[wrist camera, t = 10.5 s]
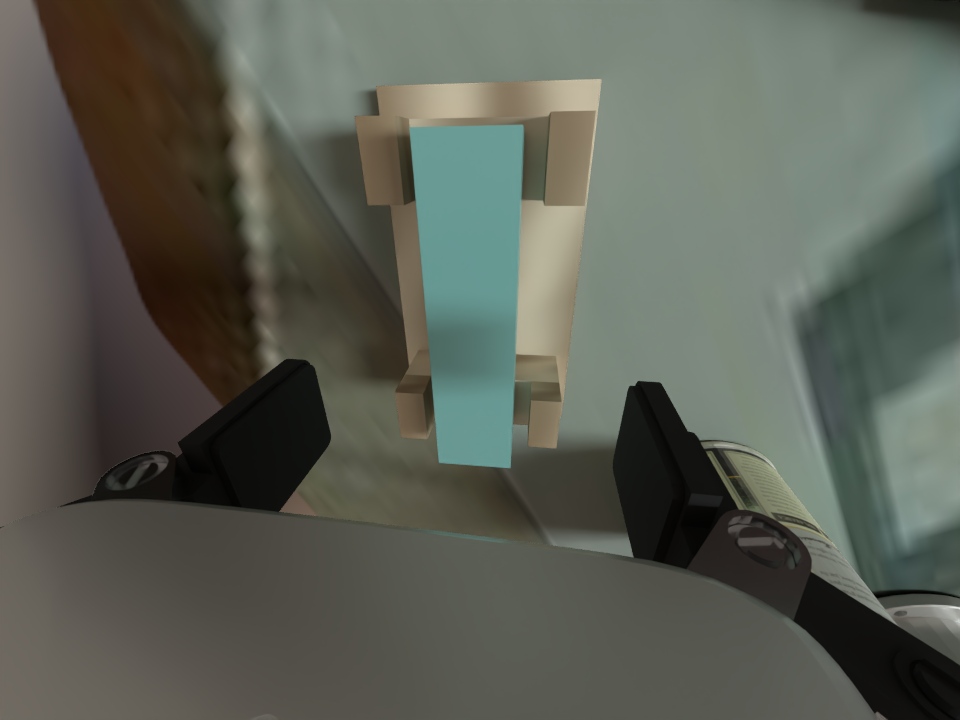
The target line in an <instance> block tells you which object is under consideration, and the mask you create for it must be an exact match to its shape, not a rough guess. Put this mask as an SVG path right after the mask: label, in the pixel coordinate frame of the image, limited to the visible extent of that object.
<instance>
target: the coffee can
mask: <svg viewBox="0 0 960 720" xmlns="http://www.w3.org/2000/svg"><path fill="white" fill-rule="evenodd" d="M701 444H702V446H703V448H704V449H705V451H706V453H707V454H708V456H709V458H710V460H711V461H712V463H713V465H714V467H715V468H716V470H717V472H718V474H719V475H720V477H721V479H722V481H723V482H724V484H725V486H726V488H727V489H728V491H729V493H730V495H731V496H732V498H733V500H734V501H735V503H736V505H737V507H738V508H739V510H750V511H754V512H758V513H761V514H763V515H766V516H768V517H770V518H773V519H775V520H776V521H778V522H779V523H781V524H783V525H784V526H786V527H787V528H788V529H790V530H791V531H792V532H793V533H794V534H795V535H797V536H798V537H799V538H800V540H801V541H802V542H803V543H804V545H805V546H806V547H807V549H808V551H809V554H810V556H811V558H812V569H811V572H813V573H814V574H816V575H817V576H819V577H821V578H822V579H824V580H825V581H827V582H829V583H830V584H832V585H833V586H835V587H837V588H838V589H840V590H841V591H843V592H845V593H846V594H848V595H849V596H851V597H853V598H854V599H856V600H857V601H859V602H861V603H862V604H864V605H865V606H867V607H868V608H870V609H872V610H873V611H875V612H876V613H878V614H880V615H881V616H883V617H884V618H886V619H888V620H889V621H891V622H892V623H894V624H896V623H895V621H894V620H893V619H892V618H891V616H890V615H889V614H888V613H887V611H886V610H885V609H884V607H883V606H882V605H881V604H880V602H879V601H878V600H877V599H876V597H875V596H874V595H873V593H872V592H871V591H870V590H869V588H868V587H867V586H866V585H865V583H864V582H863V581H862V579H861V578H860V577H859V576H858V574H857V573H856V572H855V571H854V569H853V568H852V567H851V565H850V564H849V563H848V562H847V560H846V559H845V558H844V557H843V555H842V554H841V553H840V552H839V550H838V549H837V548H836V546H835V545H834V544H833V543H832V541H831V540H830V539H829V538H828V536H827V535H826V534H825V533H824V531H823V530H822V529H821V527H820V526H819V525H818V524H817V522H816V521H815V520H814V518H813V517H812V516H811V515H810V513H809V512H808V511H807V510H806V508H805V507H804V506H803V504H802V503H801V502H800V501H799V499H798V498H797V497H796V496H795V494H794V493H793V492H792V490H791V489H790V488H789V487H788V485H787V484H786V483H785V481H784V480H783V479H782V478H781V476H780V475H779V473H778V472H777V470H776V468H775V467H774V465H773V464H772V463H771V461H770V460H768V459H767V458H766V457H765V456H764V455H762V454H761V453H759V452H757V451H755V450H753V449H752V448H750V447H747V446H743V445H739V444H735V443H729V442H722V441H708V442H701ZM896 625H897V624H896ZM897 626H898V625H897Z"/></svg>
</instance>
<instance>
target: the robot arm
mask: <svg viewBox="0 0 960 720" xmlns="http://www.w3.org/2000/svg"><path fill="white" fill-rule="evenodd" d="M330 440H331V433H330V429H329V425H328V421H327V416H326V412H325V408H324V404H323V400H322V396H321V392H320V388H319V384H318V379H317V375H316V371H315V368H314V367H313V366H312V365H310V363H309V362H308V361H306V360H298V359H286V360H284V361H283V362H282V363H280V364H279V365H278V366H276V367H275V368H274V369H272V370H271V371H270V372H269V373H267V374H266V375H265V376H263V377H262V378H261V379H260V380H258V381H257V382H256V383H254V384H253V385H252V386H250V387H249V388H248V389H247V390H245V391H244V392H243V393H241V394H240V395H239V396H237V397H236V398H235V399H234V400H232V401H231V402H230V403H228V404H227V405H226V406H225V407H223V408H222V409H221V410H219V411H218V412H217V413H216V414H214V415H213V416H212V417H210V418H209V419H208V420H206V421H205V422H204V423H203V424H201V425H200V426H199V427H197V428H196V429H195V430H194V431H192V432H191V433H190V434H188V435H187V436H186V437H184V438H183V439H182V440H181V441H179V442H178V444H179V446H180V448H181V450H182V452H183V453H182V454H181V455H180V456H178V457H177V458H176V456H175V455H174V454H173V453H172V452H170V451H163V450H160V451H151V452H147V453H142V454H139V455H137V456H134V457H131V458H129V459H127V460H125V461H123V462H121V463H119V464H117V465H116V466H114V467H113V468H111V469H110V470H108V471H107V472H106V473H105V474H104V475H103V476H102V477H101V478H100V480H99V481H98V483H97V484H96V487H95V490H94V492H93V495H91V496H88V497H85V498H82V499H79V500H77V501H74V502H71V503H68V504H65V505H63V506H60V507H57V508H53V509H49V510H45V511H42V512H39V513H36V514H32V515H29V516H26V517H23V518H21V519H18V520H16V521H14V522H12V523H9V524H8V525H6V526H3V527H0V720H960V598H955V597H951V596H946V595H936V594H903V595H892V596H887V597H881V598H876V599H877V600H878V601H879V602H880V604H881V605H882V606H883V607H884V609H885V610H886V611H887V613H888V614H889V615H890V616H891V618H892V619H893V620H894V621H895V623H896V624H897V625H898V626H897V625H896V624H894V623H892V622H891V621H889V620H888V619H886V618H884V617H883V616H881V615H880V614H878V613H876V612H875V611H873V610H872V609H870V608H868V607H867V606H865V605H864V604H862V603H861V602H859V601H857V600H856V599H854V598H853V597H851V596H849V595H848V594H846V593H845V592H843V591H841V590H840V589H838V588H837V587H835V586H833V585H832V584H830V583H829V582H827V581H825V580H824V579H822V578H821V577H819V576H817V575H816V574H814V573H813V572H811V569H812V558H811V556H810V554H809V551H808V549H807V547H806V546H805V545H804V543H803V542H802V541H801V540H800V538H799V537H798V536H797V535H795V534H794V533H793V532H792V531H791V530H790V529H788V528H787V527H786V526H784V525H783V524H781V523H779V522H778V521H776V520H775V519H773V518H770V517H768V516H766V515H763V514H761V513H758V512H754V511H750V510H739V508H738V507H737V505H736V503H735V501H734V500H733V498H732V496H731V495H730V493H729V491H728V489H727V488H726V486H725V484H724V482H723V481H722V479H721V477H720V475H719V474H718V472H717V470H716V468H715V467H714V465H713V463H712V461H711V460H710V458H709V456H708V454H707V453H706V451H705V449H704V448H703V446H702V444H701V442H700V441H699V439H698V437H697V436H696V435H695V434H694V433H692V432H688V431H687V429H686V428H685V426H684V424H683V422H682V420H681V418H680V417H679V415H678V413H677V411H676V409H675V408H674V406H673V404H672V402H671V400H670V398H669V397H668V395H667V393H666V391H665V389H664V387H663V386H662V384H661V383H659V382H644V381H638V382H637V383H636V386H629V388H628V392H627V397H626V402H625V407H624V411H623V416H622V421H621V426H620V431H619V435H618V440H617V445H616V450H615V454H614V460H613V472H614V476H615V481H616V485H617V489H618V493H619V498H620V502H621V506H622V510H623V514H624V519H625V523H626V527H627V531H628V535H629V540H630V544H631V548H632V552H633V556H634V558H633V557H627V556H621V555H616V554H610V553H603V552H596V551H589V550H582V549H575V548H567V547H560V546H553V545H546V544H538V543H530V542H522V541H515V540H507V539H499V538H491V537H483V536H475V535H467V534H459V533H451V532H443V531H435V530H427V529H419V528H410V527H402V526H394V525H386V524H377V523H369V522H361V521H352V520H344V519H336V518H327V517H319V516H310V515H301V514H292V513H284V512H279V511H280V510H281V508H282V507H283V506H284V504H285V503H286V502H287V500H288V499H289V498H290V496H291V495H292V494H293V492H294V491H295V490H296V488H297V487H298V486H299V484H300V483H301V482H302V480H303V479H304V478H305V476H306V475H307V474H308V472H309V471H310V470H311V468H312V467H313V466H314V464H315V463H316V462H317V460H318V459H319V458H320V456H321V455H322V454H323V452H324V451H325V450H326V448H327V447H328V445H329V443H330Z"/></svg>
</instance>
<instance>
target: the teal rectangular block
mask: <svg viewBox="0 0 960 720" xmlns="http://www.w3.org/2000/svg"><path fill="white" fill-rule="evenodd" d="M409 129H410V140H411V151H412V163H413V174H414V188H415V199H416V211H417V222H418V233H419V245H420V256H421V267H422V278H423V290H424V301H425V310H426V321H427V332H428V344H429V357H430V369H431V380H432V391H433V403H434V414H435V425H436V434H437V446H438V457H439V463H448V464H461V465H474V466H488V467H501V468H511V452H512V435H513V419H514V394H515V369H516V343H517V317H518V291H519V265H520V239H521V214H522V188H523V162H524V136H525V131H524V126H523V125H485V126H441V127H409Z"/></svg>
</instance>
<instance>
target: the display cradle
mask: <svg viewBox="0 0 960 720" xmlns="http://www.w3.org/2000/svg"><path fill="white" fill-rule="evenodd" d="M601 80H602V79H588V80H556V81H524V82H493V83H461V84H429V85H398V86H376V89H377V98H378V106H379V116H355V121H356V128H357V135H358V142H359V149H360V156H361V163H362V170H363V177H364V184H365V191H366V197H367V204H368V205H390V208H391V217H392V225H393V234H394V242H395V251H396V259H397V268H398V276H399V285H400V293H401V302H402V310H403V319H404V327H405V336H406V344H407V353H408V361H409V368H408V370H407V371H406V373H405V375H404V377H403V379H402V380H401V382H400V384H399V386H398V387H397V389H396V391H395V398H396V405H397V412H398V419H399V426H400V433H401V437H403V438H417V439H428V437H429V434H430V431H431V428H432V425H433V423H434V420H435V414H434V403H433V391H432V380H431V369H430V357H429V344H428V332H427V321H426V310H425V301H424V290H423V278H422V267H421V256H420V245H419V233H418V222H417V211H416V199H415V188H414V174H413V163H412V151H411V140H410V129H409V127H441V126H485V125H523V126H524V131H525V136H524V162H523V188H522V214H521V239H520V265H519V291H518V317H517V343H516V369H515V394H514V419H513V424H518V425H528V446H529V447H543V448H556V447H557V439H558V430H559V422H560V417H561V416H562V407H563V399H564V391H565V382H566V374H567V365H568V357H569V349H570V340H571V332H572V323H573V315H574V307H575V298H576V290H577V281H578V273H579V265H580V256H581V248H582V239H583V231H584V223H585V214H586V206H587V197H588V189H589V181H590V172H591V164H592V155H593V147H594V139H595V130H596V122H597V113H598V105H599V97H600V88H601Z"/></svg>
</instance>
